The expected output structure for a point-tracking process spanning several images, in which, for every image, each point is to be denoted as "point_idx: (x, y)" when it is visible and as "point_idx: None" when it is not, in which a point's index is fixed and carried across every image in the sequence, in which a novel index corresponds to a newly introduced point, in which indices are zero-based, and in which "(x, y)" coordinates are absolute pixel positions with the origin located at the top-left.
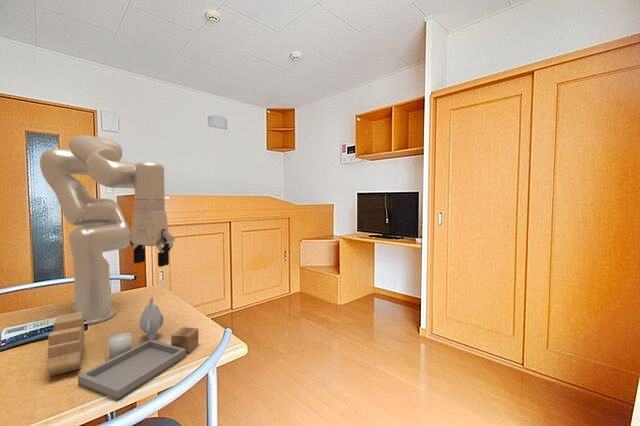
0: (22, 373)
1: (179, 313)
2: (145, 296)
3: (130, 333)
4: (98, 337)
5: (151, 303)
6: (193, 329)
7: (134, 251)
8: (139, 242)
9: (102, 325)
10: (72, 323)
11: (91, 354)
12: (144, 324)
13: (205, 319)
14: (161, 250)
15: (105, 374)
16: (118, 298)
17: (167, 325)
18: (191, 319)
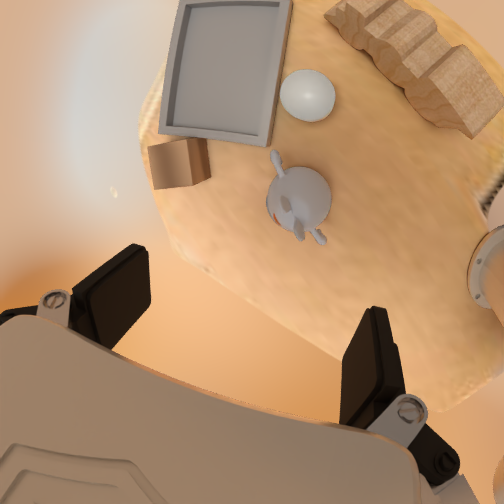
0: (436, 24)
1: (323, 317)
2: (446, 376)
3: (296, 117)
4: (433, 170)
5: (295, 220)
6: (160, 181)
7: (388, 376)
8: (221, 425)
9: (465, 231)
10: (437, 64)
11: (380, 92)
12: (296, 168)
13: (239, 295)
14: (50, 301)
15: (265, 29)
16: (491, 356)
17: (310, 254)
18: (272, 292)
